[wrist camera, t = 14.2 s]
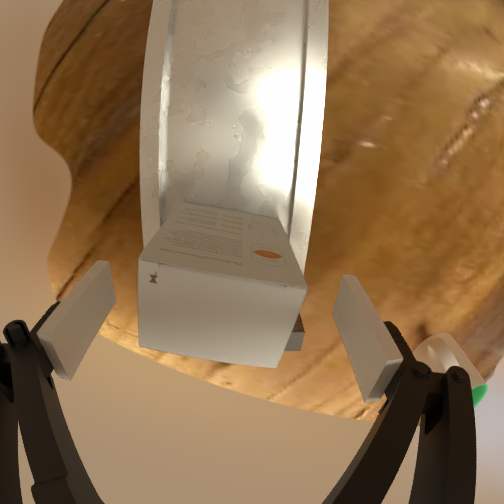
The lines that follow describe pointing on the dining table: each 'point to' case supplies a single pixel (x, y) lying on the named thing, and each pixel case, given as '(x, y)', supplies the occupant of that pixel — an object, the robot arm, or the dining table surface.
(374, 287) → the dining table surface
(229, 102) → the tray
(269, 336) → the small box
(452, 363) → the mug
